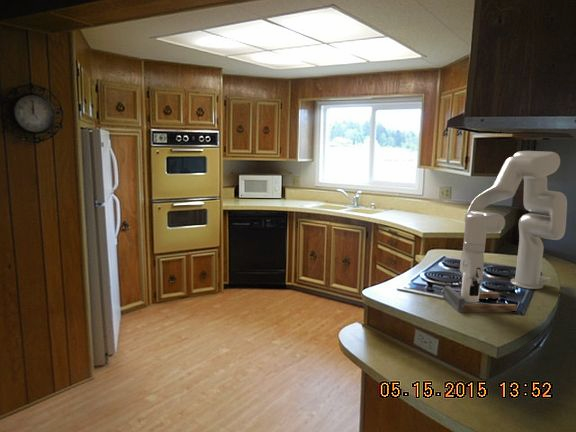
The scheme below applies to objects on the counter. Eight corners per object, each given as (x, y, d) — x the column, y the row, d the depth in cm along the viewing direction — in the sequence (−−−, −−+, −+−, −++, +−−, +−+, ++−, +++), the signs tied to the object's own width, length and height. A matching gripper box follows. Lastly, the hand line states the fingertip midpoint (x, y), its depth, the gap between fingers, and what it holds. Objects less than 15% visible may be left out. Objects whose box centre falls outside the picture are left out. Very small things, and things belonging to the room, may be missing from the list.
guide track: (497, 298, 173) (498, 286, 173) (516, 312, 160) (518, 299, 159) (443, 298, 173) (444, 286, 172) (457, 311, 159) (459, 298, 158)
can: (476, 304, 161) (479, 273, 159) (458, 300, 165) (461, 270, 163) (480, 299, 166) (483, 269, 164) (463, 296, 170) (465, 266, 168)
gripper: (454, 241, 170) (450, 285, 174) (474, 252, 154) (470, 300, 157) (473, 241, 171) (469, 285, 174) (495, 252, 154) (490, 301, 157)
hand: (469, 292), depth 165 cm, fingers closed on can, 5 cm apart
